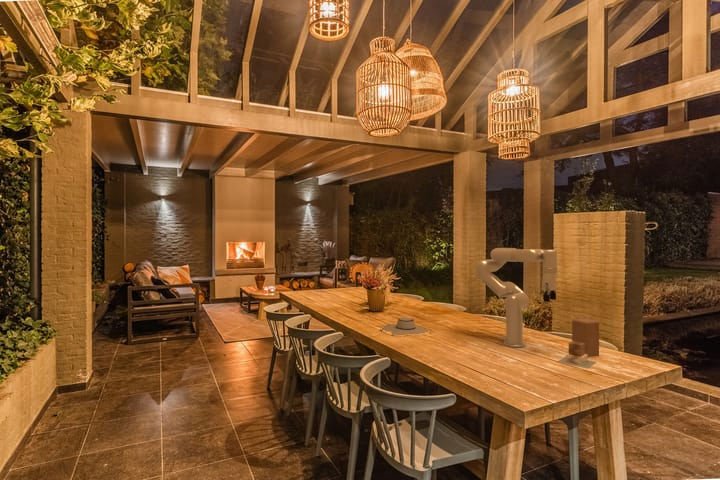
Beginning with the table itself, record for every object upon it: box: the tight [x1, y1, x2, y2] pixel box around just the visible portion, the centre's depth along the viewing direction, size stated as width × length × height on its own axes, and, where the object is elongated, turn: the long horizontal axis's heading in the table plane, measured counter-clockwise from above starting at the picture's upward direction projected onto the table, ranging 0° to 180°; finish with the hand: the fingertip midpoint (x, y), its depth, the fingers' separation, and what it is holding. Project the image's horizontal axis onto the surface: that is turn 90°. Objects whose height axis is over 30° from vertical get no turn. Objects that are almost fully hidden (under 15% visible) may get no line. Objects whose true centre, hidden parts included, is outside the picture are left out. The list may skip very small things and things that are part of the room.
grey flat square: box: [557, 356, 597, 370], centre depth 210 cm, size 15×15×1 cm
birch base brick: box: [565, 352, 589, 365], centre depth 210 cm, size 8×8×4 cm
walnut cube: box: [568, 340, 585, 357], centre depth 210 cm, size 6×6×6 cm
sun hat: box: [381, 317, 428, 335], centre depth 288 cm, size 36×36×9 cm
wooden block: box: [571, 317, 600, 358], centre depth 225 cm, size 10×10×20 cm
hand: (549, 300), depth 230 cm, fingers open, 9 cm apart
